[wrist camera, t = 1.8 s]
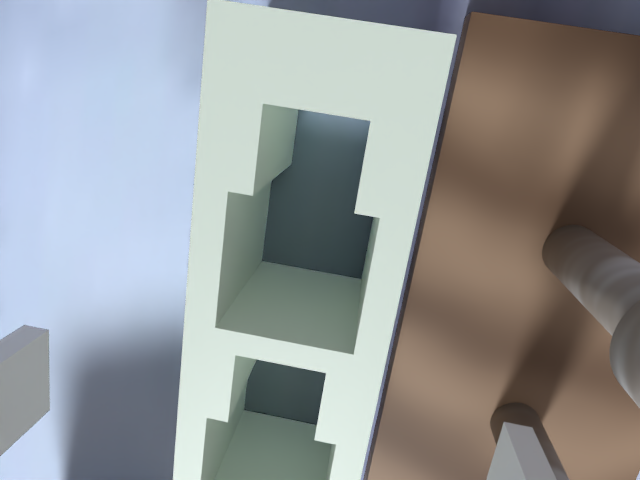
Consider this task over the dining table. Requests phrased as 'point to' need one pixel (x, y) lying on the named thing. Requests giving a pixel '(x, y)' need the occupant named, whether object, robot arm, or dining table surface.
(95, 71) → the dining table surface
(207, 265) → the two-pocket foam insert
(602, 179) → the board
